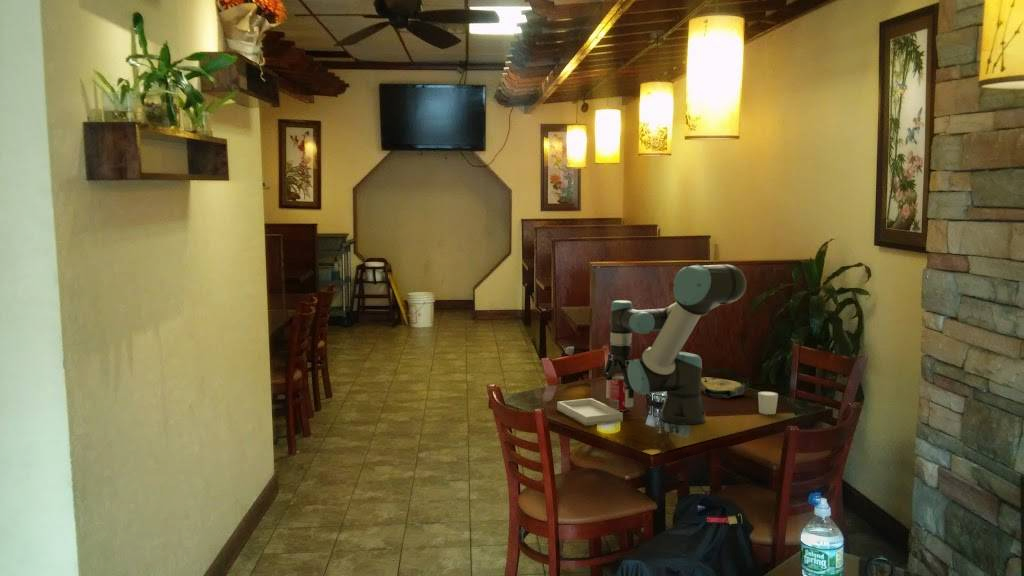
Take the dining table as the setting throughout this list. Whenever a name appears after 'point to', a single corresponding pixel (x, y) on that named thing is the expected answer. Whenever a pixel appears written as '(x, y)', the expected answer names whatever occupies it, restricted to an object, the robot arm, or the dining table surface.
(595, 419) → the bussing tray
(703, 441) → the dining table surface
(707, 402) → the dining table surface
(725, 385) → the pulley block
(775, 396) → the white cup
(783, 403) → the dining table surface
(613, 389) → the soda can
